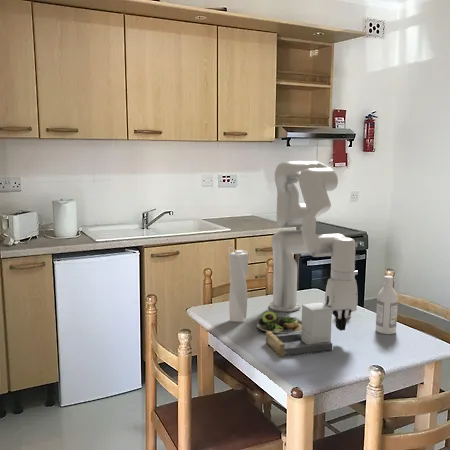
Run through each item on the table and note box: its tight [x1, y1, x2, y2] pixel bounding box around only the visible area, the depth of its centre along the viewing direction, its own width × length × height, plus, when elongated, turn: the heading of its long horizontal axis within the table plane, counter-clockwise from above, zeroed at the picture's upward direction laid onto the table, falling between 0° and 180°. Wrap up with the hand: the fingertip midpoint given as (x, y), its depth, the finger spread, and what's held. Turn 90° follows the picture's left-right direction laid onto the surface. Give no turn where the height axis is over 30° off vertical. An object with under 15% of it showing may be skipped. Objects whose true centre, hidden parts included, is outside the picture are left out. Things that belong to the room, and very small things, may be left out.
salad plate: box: [256, 310, 302, 335], centre depth 181 cm, size 19×18×5 cm
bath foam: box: [375, 275, 399, 335], centre depth 177 cm, size 7×7×20 cm
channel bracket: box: [265, 331, 333, 358], centre depth 163 cm, size 12×18×4 cm, turn 106°
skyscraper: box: [227, 246, 250, 323], centre depth 188 cm, size 8×8×28 cm
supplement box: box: [301, 302, 333, 344], centre depth 164 cm, size 7×7×13 cm
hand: (340, 328), depth 167 cm, fingers closed
